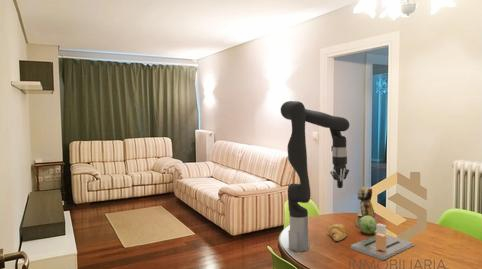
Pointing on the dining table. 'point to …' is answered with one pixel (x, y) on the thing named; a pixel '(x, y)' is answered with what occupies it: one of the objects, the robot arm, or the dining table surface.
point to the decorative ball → (367, 224)
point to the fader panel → (392, 248)
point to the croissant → (337, 231)
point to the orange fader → (380, 241)
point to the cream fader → (381, 229)
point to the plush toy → (365, 204)
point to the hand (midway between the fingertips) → (340, 187)
